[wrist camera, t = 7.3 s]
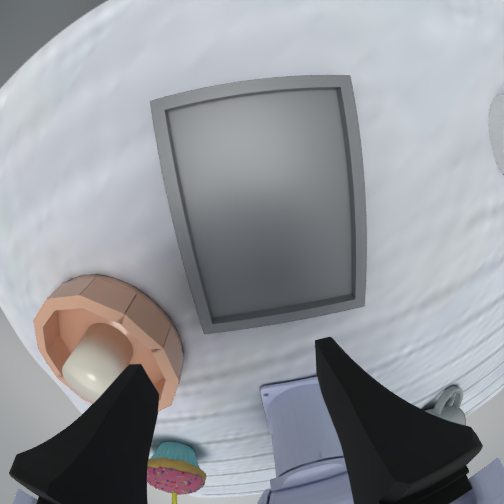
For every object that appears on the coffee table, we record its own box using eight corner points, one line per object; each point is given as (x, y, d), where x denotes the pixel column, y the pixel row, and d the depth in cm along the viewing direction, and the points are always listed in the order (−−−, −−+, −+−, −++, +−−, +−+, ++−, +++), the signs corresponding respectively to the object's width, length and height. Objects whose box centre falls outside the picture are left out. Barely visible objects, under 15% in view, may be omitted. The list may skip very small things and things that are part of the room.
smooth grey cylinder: (140, 364, 21) (125, 407, 16) (98, 362, 21) (79, 400, 16) (122, 322, 19) (99, 364, 15) (78, 323, 19) (52, 360, 15)
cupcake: (216, 459, 30) (215, 530, 18) (163, 460, 30) (154, 525, 19) (191, 432, 26) (184, 519, 15) (133, 433, 27) (116, 508, 16)
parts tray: (357, 296, 20) (364, 306, 19) (206, 323, 20) (204, 334, 19) (342, 79, 14) (350, 75, 13) (156, 104, 15) (149, 101, 13)
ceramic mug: (431, 423, 32) (448, 453, 24) (399, 431, 31) (415, 467, 23) (466, 379, 28) (490, 410, 21) (436, 386, 27) (462, 423, 20)
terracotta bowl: (200, 387, 23) (197, 416, 20) (91, 386, 23) (80, 409, 20) (154, 263, 18) (139, 287, 15) (34, 283, 19) (13, 302, 15)
